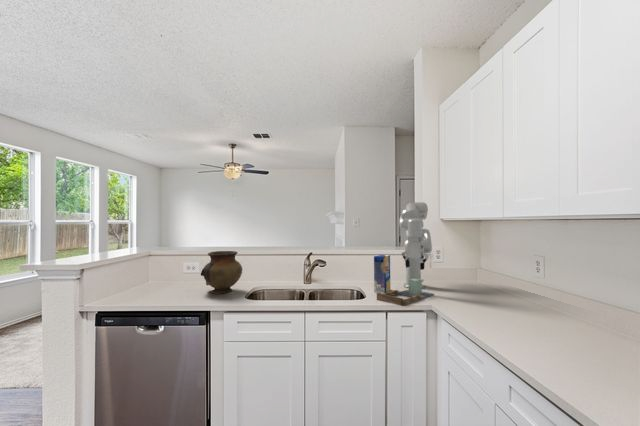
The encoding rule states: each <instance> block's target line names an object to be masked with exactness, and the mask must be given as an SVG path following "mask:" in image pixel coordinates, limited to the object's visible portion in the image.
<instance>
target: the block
mask: <svg viewBox="0 0 640 426" xmlns="http://www.w3.org/2000/svg"><path fill="white" fill-rule="evenodd" d="M421 279H422V278H421ZM421 279H415V278H414V279H410V280H409V288H408V290H409V293H410V294H415V295H417V294H420V293H422V292H423V291H422V289H423V288H422V285H423V282H422V280H421Z"/></svg>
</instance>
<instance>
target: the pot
mask: <svg viewBox="0 0 640 426" xmlns="http://www.w3.org/2000/svg"><path fill="white" fill-rule="evenodd" d="M237 254H238V251H235V250H216V251H210V252H208V253H207V256H209V257H210V261H209V262H208V263H206V264H205V266H204V267H203V268H202V270H201V271H200V276H201V277H203V278H204V280H205V285H206V286H210V287H211V288H213V289H212V290H211V293H212V294H213V293H214V294H215V295H222V294H223V293H224V294H229V292H230V293H232V292H233V288H231V287H234V285H235V284H237V283H238V282H239V280H240V279H241V276H242V275H243V266H242V264H241V263H240V262H239V261H238V260H236V255H237Z"/></svg>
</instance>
